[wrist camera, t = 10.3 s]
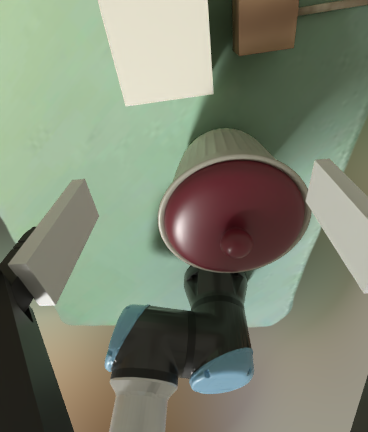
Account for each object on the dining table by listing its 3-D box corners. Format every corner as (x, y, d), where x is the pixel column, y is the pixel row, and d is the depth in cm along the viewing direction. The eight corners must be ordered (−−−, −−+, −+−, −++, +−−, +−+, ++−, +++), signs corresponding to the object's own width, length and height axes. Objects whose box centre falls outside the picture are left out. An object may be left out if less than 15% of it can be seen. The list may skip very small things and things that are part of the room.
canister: (156, 190, 47) (136, 283, 31) (188, 89, 37) (185, 149, 20) (244, 216, 50) (269, 313, 34) (297, 131, 40) (372, 212, 23)
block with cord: (396, 25, 31) (484, 29, 22) (232, 50, 34) (247, 63, 24) (417, -43, 28) (532, -73, 18) (231, -10, 30) (249, -23, 20)
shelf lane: (209, 77, 36) (213, 93, 28) (139, 88, 37) (125, 106, 29) (201, -35, 29) (204, -55, 21) (116, -18, 30) (89, -31, 22)
